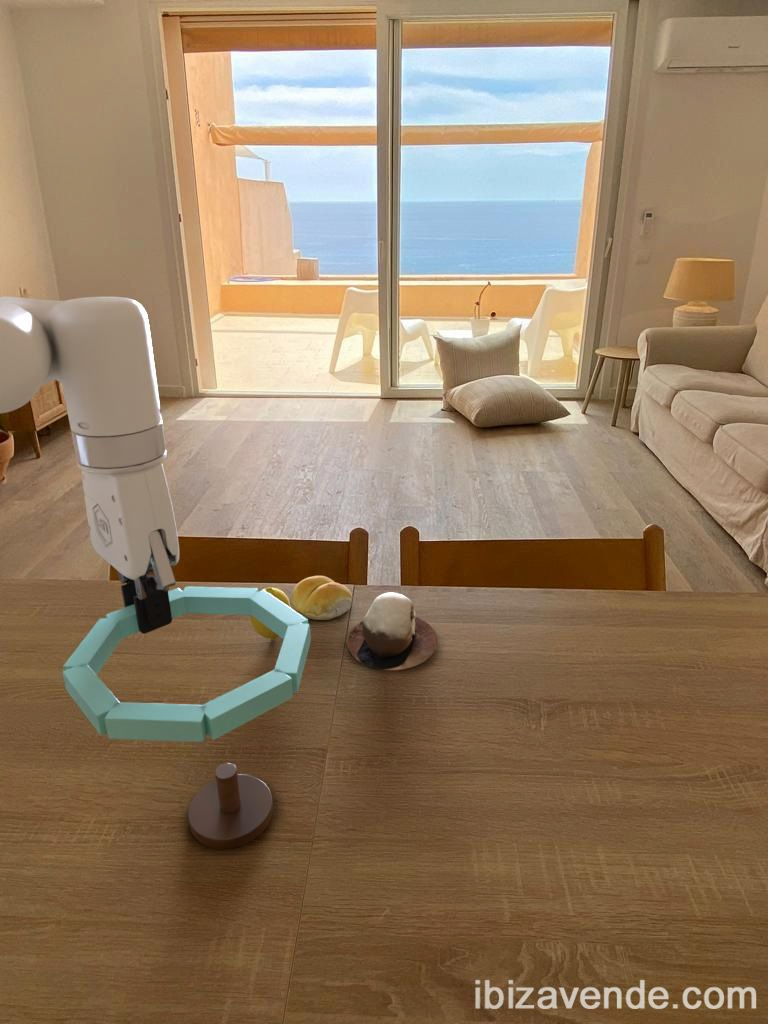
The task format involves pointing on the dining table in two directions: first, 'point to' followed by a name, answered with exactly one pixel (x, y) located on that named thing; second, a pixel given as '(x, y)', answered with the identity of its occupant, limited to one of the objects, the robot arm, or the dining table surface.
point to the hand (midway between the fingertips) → (149, 620)
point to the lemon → (261, 627)
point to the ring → (184, 718)
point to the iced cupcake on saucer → (392, 635)
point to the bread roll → (321, 598)
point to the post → (230, 809)
